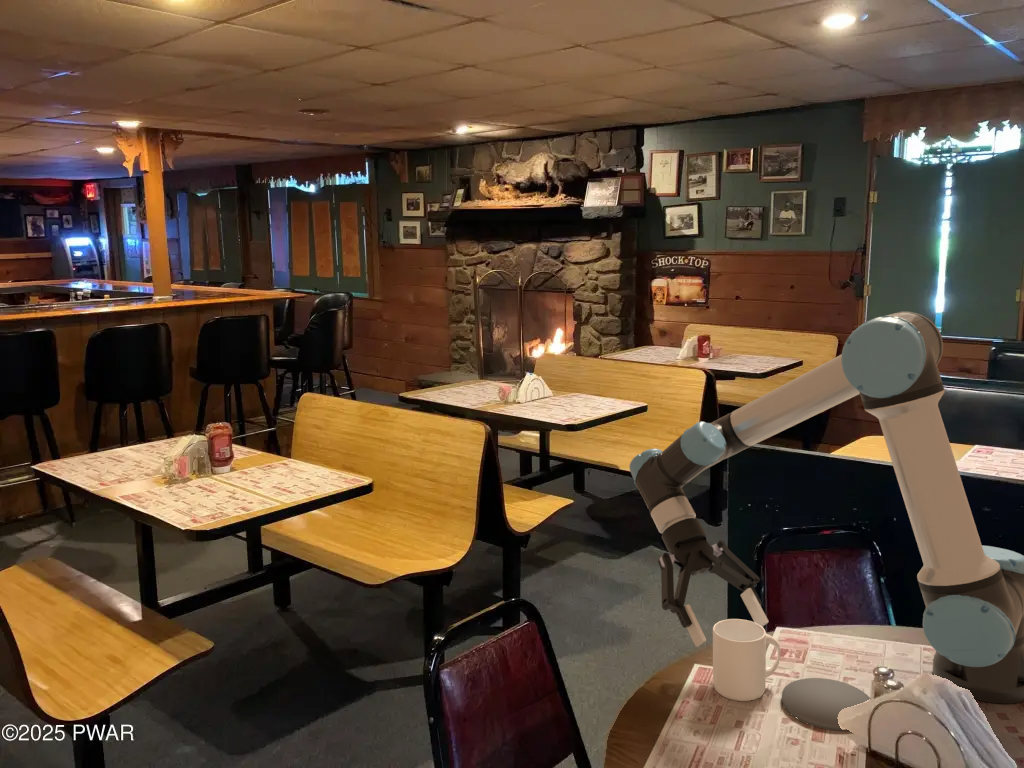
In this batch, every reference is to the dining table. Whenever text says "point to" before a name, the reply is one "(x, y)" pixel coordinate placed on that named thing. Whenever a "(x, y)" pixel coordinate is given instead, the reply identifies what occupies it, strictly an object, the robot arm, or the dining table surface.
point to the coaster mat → (820, 700)
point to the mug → (741, 659)
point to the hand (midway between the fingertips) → (733, 634)
